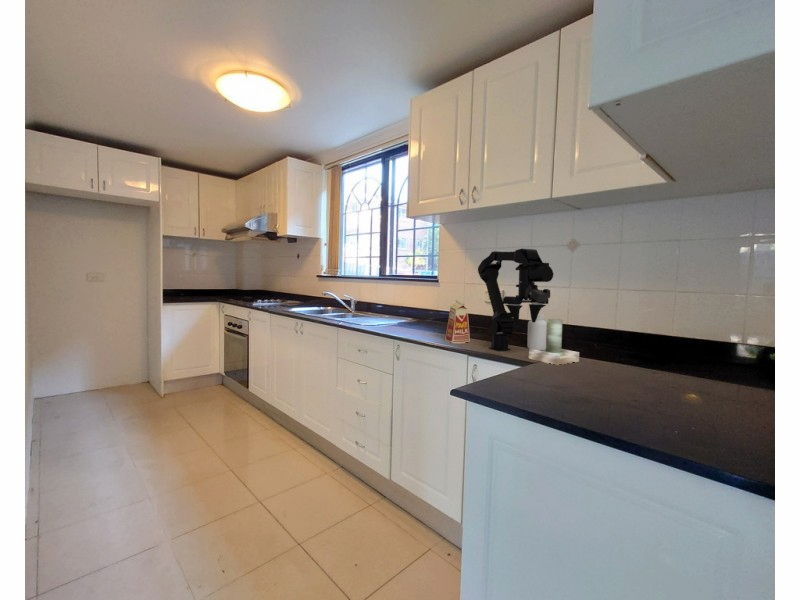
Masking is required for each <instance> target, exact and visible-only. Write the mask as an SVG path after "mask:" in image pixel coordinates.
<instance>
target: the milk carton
mask: <svg viewBox="0 0 800 600" xmlns="http://www.w3.org/2000/svg"><path fill="white" fill-rule="evenodd" d="M464 305H465V303H463V302H461V301H459V300H458V299H455V303H452V304H451V305H450V308H449V315H448V319H447V320H448V321H447V327H446V332H445V337H444V341H445V340H447V341H449V342H452V343H451V344H466V343H465V342H470V324H469V313H468V309H467V308H466V306H464ZM449 342H448V343H449Z"/></svg>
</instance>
